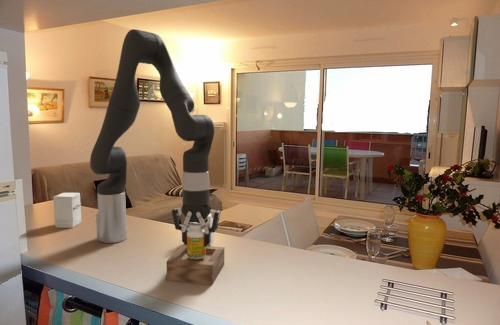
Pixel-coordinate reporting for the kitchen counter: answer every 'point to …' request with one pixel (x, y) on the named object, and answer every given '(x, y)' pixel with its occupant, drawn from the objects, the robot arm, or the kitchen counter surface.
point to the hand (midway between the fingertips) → (196, 244)
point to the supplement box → (67, 210)
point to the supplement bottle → (195, 241)
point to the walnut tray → (195, 266)
